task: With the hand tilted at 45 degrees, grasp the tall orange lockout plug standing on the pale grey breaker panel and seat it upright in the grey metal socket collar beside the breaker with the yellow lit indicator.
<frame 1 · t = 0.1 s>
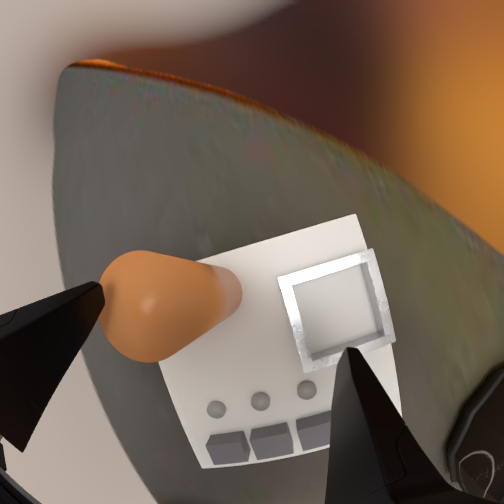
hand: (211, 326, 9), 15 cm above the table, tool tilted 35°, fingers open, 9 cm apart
breaker panel: (274, 360, 23), on the table
black drum container: (494, 420, 19), on the table
socket collar: (335, 309, 22), resting on breaker panel
lockout plug: (215, 293, 23), point 1 cm above the table, touching breaker panel
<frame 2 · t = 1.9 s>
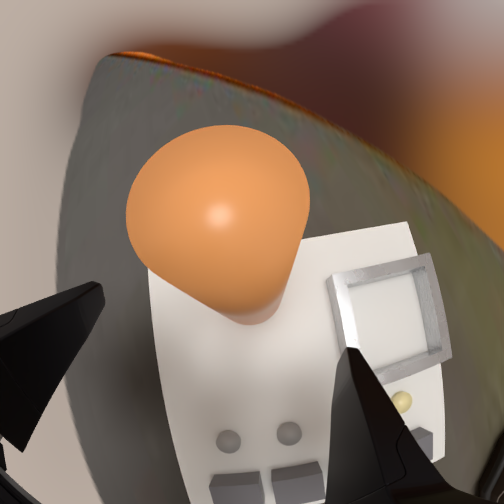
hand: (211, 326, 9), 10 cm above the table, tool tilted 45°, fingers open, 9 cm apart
breaker panel: (309, 383, 18), on the table
socket collar: (387, 322, 17), resting on breaker panel
lockout plug: (249, 292, 19), point 1 cm above the table, touching breaker panel
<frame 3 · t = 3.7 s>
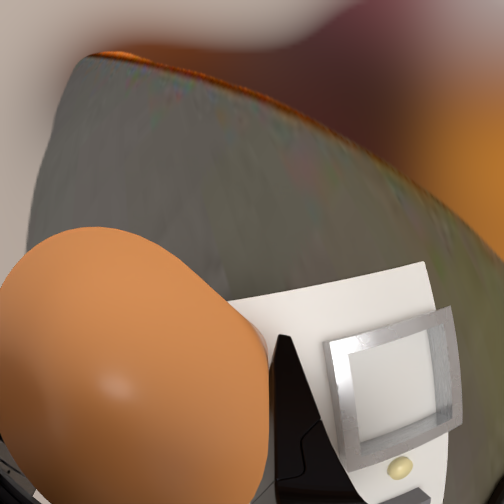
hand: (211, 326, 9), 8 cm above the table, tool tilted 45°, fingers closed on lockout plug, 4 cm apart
breaker panel: (298, 450, 14), on the table
socket collar: (392, 386, 14), resting on breaker panel
lockout plug: (228, 355, 15), point 1 cm above the table, touching breaker panel, gripper
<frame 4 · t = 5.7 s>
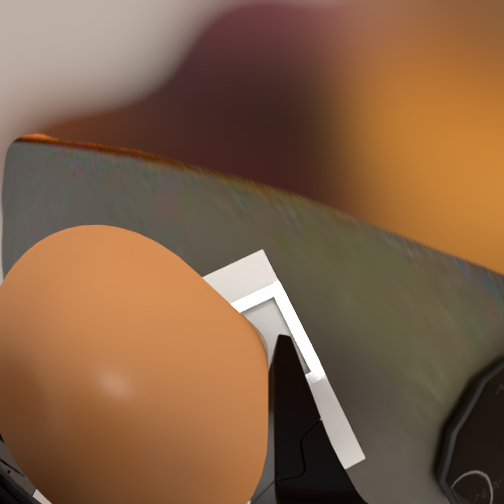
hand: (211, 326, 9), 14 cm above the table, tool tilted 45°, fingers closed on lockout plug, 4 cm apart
breaker panel: (204, 410, 20), on the table
black drum container: (489, 430, 17), on the table
socket collar: (254, 351, 20), resting on breaker panel
lockout plug: (228, 354, 15), point 7 cm above the table, touching gripper
when the fingers open (8 cm above the table, at t = 7.8 s): lockout plug stays where it is, resting on breaker panel.
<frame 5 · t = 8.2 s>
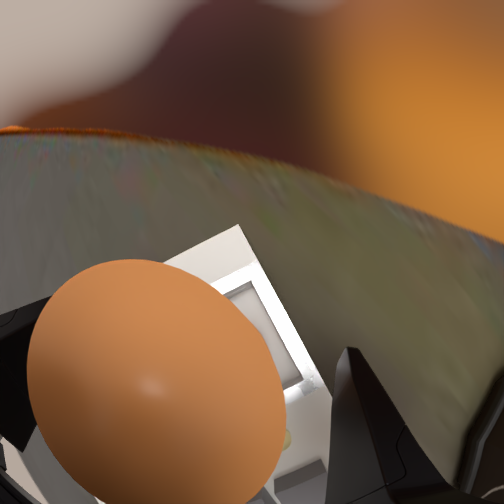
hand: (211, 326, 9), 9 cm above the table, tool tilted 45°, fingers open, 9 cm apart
breaker panel: (174, 426, 15), on the table
socket collar: (230, 354, 16), resting on breaker panel
lockout plug: (230, 354, 16), point 1 cm above the table, touching breaker panel
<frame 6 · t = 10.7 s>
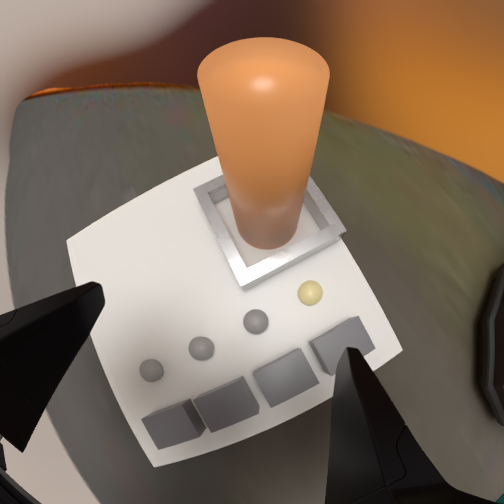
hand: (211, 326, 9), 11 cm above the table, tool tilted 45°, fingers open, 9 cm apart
breaker panel: (212, 298, 20), on the table
socket collar: (267, 219, 20), resting on breaker panel
lockout plug: (267, 220, 20), point 1 cm above the table, touching breaker panel
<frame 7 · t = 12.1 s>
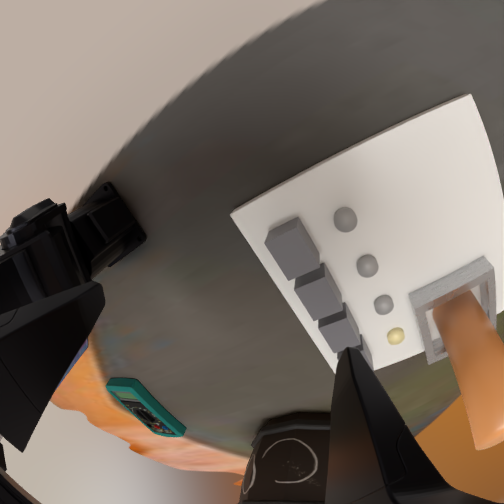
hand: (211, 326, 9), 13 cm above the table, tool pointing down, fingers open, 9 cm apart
breaker panel: (405, 261, 20), on the table
black drum container: (311, 435, 35), on the table
socket collar: (453, 307, 19), resting on breaker panel
digital multimeter: (150, 402, 40), on the table
lockout plug: (453, 307, 19), point 1 cm above the table, touching breaker panel
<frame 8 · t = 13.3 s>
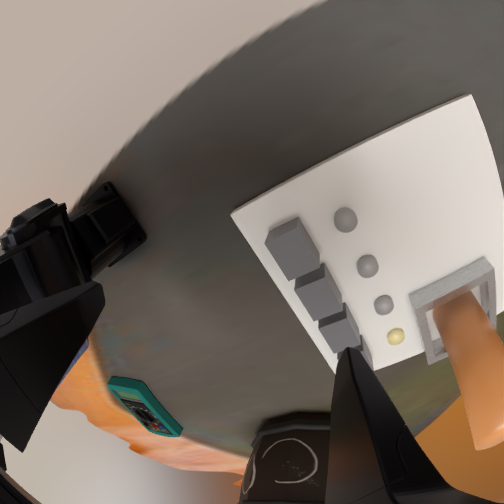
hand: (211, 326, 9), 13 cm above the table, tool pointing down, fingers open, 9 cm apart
breaker panel: (406, 261, 20), on the table
black drum container: (311, 436, 35), on the table
socket collar: (453, 307, 19), resting on breaker panel
digital multimeter: (149, 402, 40), on the table
lockout plug: (453, 307, 19), point 1 cm above the table, touching breaker panel
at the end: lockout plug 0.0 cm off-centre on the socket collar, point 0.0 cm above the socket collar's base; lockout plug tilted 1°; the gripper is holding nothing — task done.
